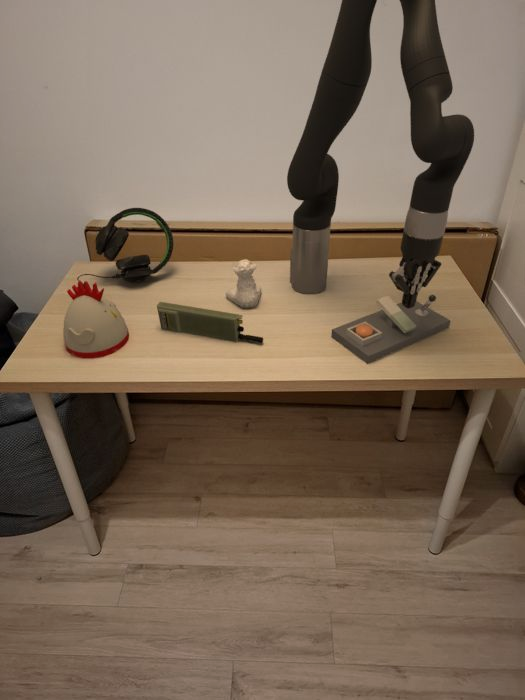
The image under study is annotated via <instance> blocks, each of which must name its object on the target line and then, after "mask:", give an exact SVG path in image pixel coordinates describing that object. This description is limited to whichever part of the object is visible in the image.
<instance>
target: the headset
mask: <svg viewBox="0 0 525 700" xmlns="http://www.w3.org/2000/svg"><path fill="white" fill-rule="evenodd" d="M134 215H135V216H136V215H139V216H144V217H147V218H149V219H152V221H153V220H154V221H155V222H156V224H157V225H158V226H159V228H160V229H161V231H163V232H164V235H165V238H166V251H165V254H164V256H163V258H162V259H161V260H160V261H159V264H158V265H157V266H156V267H154V268H152V269H151V266H150V265H151V264H152V262H151V258H150V255H148V254H139V255H133V256H127V257H123V258H119V259H118V260H116V258H117V257H118V255H119V254H120V253H121V250H122V249H123V247H124V246H125V243H126V242H127V240H128V238H129V235H130V233H129V231H128V230H126V229H125V228H123V227H121V226H120V227H119V228H118V227H117V226H116V225H115V224H116V223H117V222H118V221H120V220H122V219H123V218H126V217H130V216H134ZM95 250H96V254H97V255H99V256H102V255H103V257H104V258H105V259H106V260H108V261H109V262H113V261H115V260H116V261H115V266H116V268H117V270H118V271H121V272H120V273H116V274H115V275H111V276H101V275H97V274H92V273H84V274H81V275H79V276H77V279H76V280H77V282H79V281H80V278H81V277H83V276H92V277H97V278H104V279H116V280H118V279H122V280H124V281H128V282H130V283H136V282H141V281H145V280H146V279H147V278H148V277H149V276H151V275H154V274H157V273H159V271H161V270H162V269H163V268H164V267H166V265H167V264H168V263H169V260H170V259H171V258H172V254H173V250H174V237H173V233H172V230H171V228H170V226H169V224H168V223H167V222H166V220H165V219H164V218H163V217H162V216H161V215H160V214H158V213H156V212H155V211H153V210H151V209H147V208H143V207H130V208H126V209H123V210H121V211H120V212H118V213H116V214H115V215H113V216H112V217H111V218H110V219H109V221H108V222H107V224H106V225H105V226H103V227H101V228H100V230H99V232H98V233H97V235H96V237H95ZM86 281H87V280H84V282H82V284H83V286H84V288H85V282H86ZM76 287H77V288H78V286H76Z"/></svg>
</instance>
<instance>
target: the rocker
mask: <svg viewBox="0 0 525 700" xmlns="http://www.w3.org/2000/svg"><path fill="white" fill-rule="evenodd" d="M375 303H376V304H377V305H378V307H379V308H380V309H381V310H383V311H384V312H385V313H386V314H387V315H388V316H389V317H390V318H391V319H392V321H393V322H394V323H395V324H396V325H397V326H398V327H399V328H400V329H401V330H402V331H403V332H404V333H407V332H409V331H411V330H414V329H415V328H416V325H415V324H414V323H413V322H412V321H411V320H410V318H409V317H408V316H407V315H406V314H405V313H404V312H403V311H402V310H401V309H400V308H399V307H398V306H397V305H396V304H397V303H395V301H394V300H393V299H392V298H391V297H390V296H389V295H386V296H383V297H380V298H378V299H377V300H376V301H375Z"/></svg>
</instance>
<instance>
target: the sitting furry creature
mask: <svg viewBox="0 0 525 700" xmlns="http://www.w3.org/2000/svg"><path fill="white" fill-rule="evenodd" d="M257 267H258V265H257V263H256V264H255V263H253V262H252V261H251V260H248V259H245V258H244V259H241V260H239V261H238V262H237V263H236V265H235V266H234V267H233V268H232V270H233V272H234V274H236V276H237V278H238V279H237V281H236V289H232V288H231V289H228V290H226V291H225V296H226V298H227V300H228V301H231V302H232V303H233V304H236V305H237V306H239V307H241V308H243V309H249V308H253V307H255V306H257V304H258V302H259V300H260V297H261V293H262V287H261V286H257V283H256V281H255V279H254V275H253V273H254V272H255V271H256V269H257Z"/></svg>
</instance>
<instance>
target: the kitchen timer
mask: <svg viewBox="0 0 525 700" xmlns="http://www.w3.org/2000/svg"><path fill="white" fill-rule="evenodd" d="M85 281H86V282H85V288H84V286H83V284H84V283H83V282H82V280H79V281H77V286H76V284H73V285H72V286H71V289H72V290H71V289H70V288H68V289H67V291H66V292H67V294H68V296H69V297H70V298H71V300H72V301H71V302H70V304H69V305H68V308H67V310H66V312H65V315H64V320H63V327H62V328H63V329H62V332H63V333H62V334H63V336H62V337H63V340H64V345H65V349H66V351H67V352H68V353H69V355H71V356H74V357H76V358H80V359H98V358H103V357H106V356H110V355H112V354H114V353H116V352H118V351H119V350H121V349H122V348H123V347H125V346H126V344H127V343H128V341H129V338H130V332H129V328H128V326H127V323H126V321H125V318H124V317H123V316H122V314H121V312H120V310H119V309H118V307H117V305H116V303H115V302H114V301H112V300H109V299H108V298H106V297H105V296H103V295H104V290H105V288H104V287H103V288H101V290H100V291H99V288H98V284H97V282H94V283H93V285H92V288H91V285H90V284H89V282H88V280H85ZM82 283H83V284H82ZM77 287H78V288H77Z"/></svg>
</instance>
